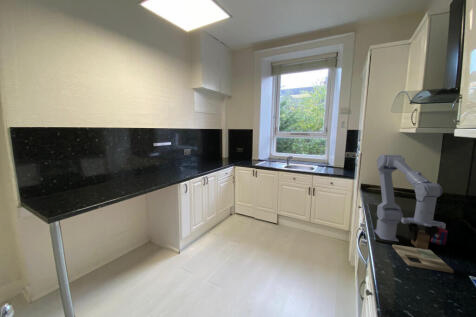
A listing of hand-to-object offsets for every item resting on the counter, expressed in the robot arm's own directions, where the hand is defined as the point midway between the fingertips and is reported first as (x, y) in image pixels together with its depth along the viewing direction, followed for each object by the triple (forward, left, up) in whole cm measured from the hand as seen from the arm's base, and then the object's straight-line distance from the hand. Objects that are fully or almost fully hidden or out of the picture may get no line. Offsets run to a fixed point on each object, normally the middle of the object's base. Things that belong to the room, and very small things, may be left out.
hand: (419, 240), depth 84 cm
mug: (-23, +20, -9) cm, 32 cm away
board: (-2, +2, -9) cm, 9 cm away
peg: (0, 0, -2) cm, 2 cm away
